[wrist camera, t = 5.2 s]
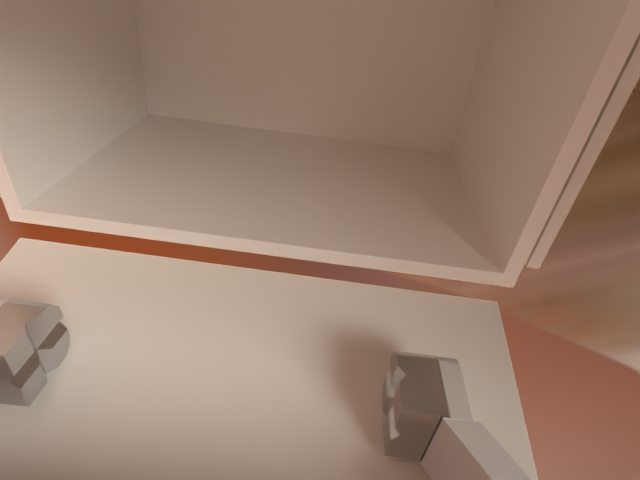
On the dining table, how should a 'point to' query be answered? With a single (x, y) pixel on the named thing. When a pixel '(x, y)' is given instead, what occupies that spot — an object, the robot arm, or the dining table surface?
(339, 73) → the carton
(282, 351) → the flap
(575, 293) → the dining table surface
